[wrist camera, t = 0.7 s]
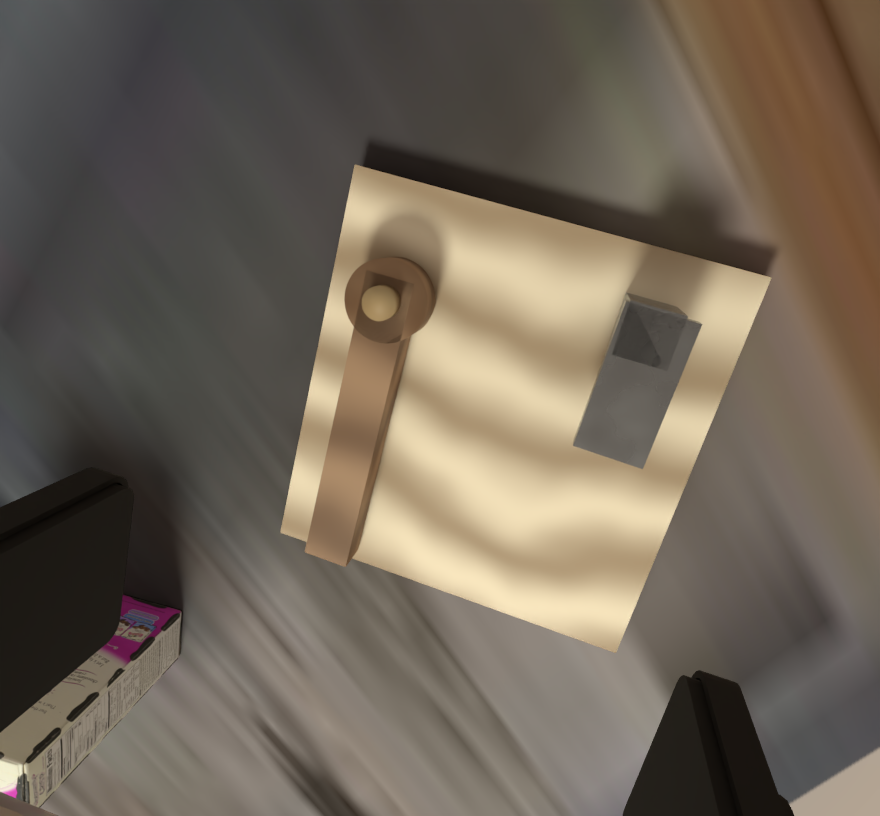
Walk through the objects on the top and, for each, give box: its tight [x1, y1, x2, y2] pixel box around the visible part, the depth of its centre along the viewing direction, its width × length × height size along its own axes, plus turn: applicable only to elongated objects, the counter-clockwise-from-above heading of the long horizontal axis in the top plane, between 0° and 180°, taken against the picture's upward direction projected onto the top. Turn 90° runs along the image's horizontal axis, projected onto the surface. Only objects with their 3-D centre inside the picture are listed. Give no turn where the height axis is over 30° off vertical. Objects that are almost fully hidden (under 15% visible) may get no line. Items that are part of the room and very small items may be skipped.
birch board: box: [281, 165, 771, 653], centre depth 43 cm, size 26×25×2 cm
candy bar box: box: [0, 595, 182, 808], centre depth 47 cm, size 11×5×16 cm, turn 82°
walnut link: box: [305, 257, 435, 567], centre depth 41 cm, size 20×5×4 cm, turn 165°
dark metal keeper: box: [573, 292, 702, 469], centre depth 37 cm, size 9×4×4 cm, turn 165°
